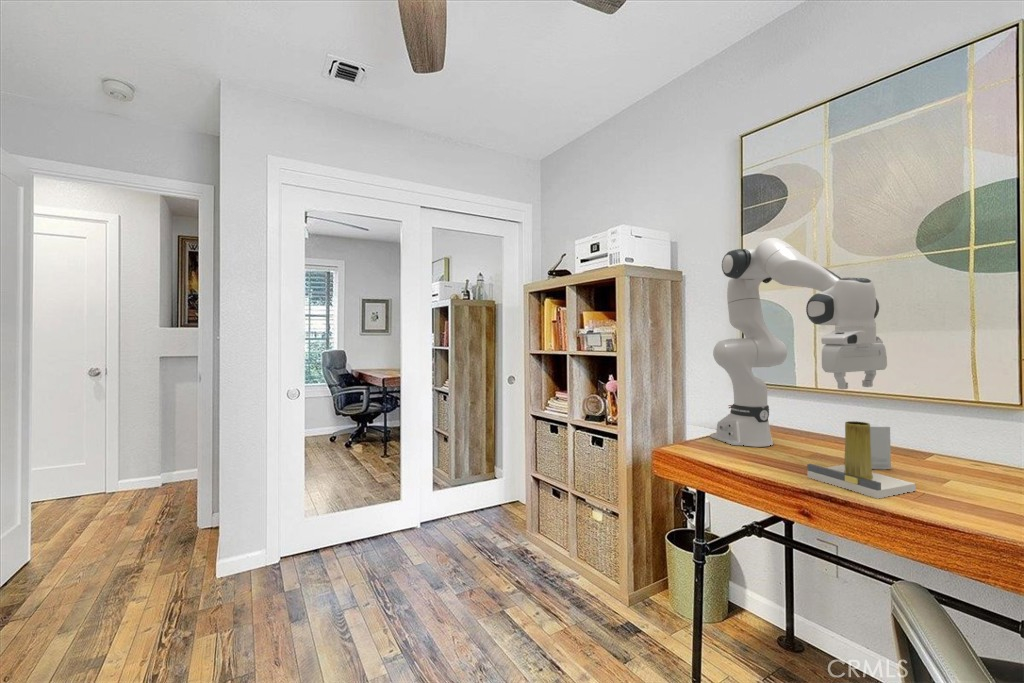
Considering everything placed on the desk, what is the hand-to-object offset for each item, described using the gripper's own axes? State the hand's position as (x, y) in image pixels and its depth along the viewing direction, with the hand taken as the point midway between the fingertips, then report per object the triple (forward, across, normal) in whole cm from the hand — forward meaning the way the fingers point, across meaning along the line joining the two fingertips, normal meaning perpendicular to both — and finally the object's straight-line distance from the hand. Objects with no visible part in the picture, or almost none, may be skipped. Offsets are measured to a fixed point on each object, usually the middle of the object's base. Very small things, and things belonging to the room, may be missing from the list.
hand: (855, 388), depth 121 cm
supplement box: (+26, -18, -8) cm, 32 cm away
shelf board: (+25, +2, +2) cm, 25 cm away
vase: (+24, +2, +2) cm, 24 cm away
